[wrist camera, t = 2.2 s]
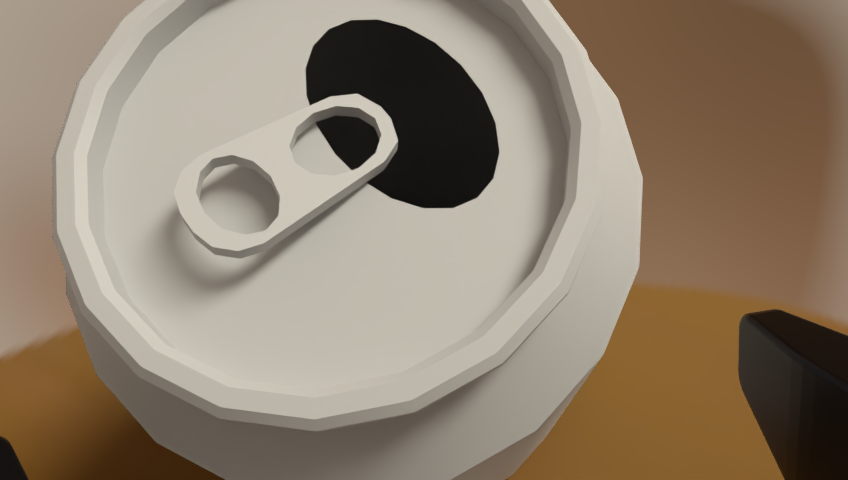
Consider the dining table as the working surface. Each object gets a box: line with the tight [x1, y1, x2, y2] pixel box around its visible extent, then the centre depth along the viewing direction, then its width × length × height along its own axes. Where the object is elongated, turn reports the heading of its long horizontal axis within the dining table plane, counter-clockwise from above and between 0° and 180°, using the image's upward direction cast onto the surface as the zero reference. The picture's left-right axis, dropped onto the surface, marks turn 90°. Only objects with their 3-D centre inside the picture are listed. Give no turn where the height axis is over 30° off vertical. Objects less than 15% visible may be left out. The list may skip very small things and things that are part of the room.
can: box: [52, 0, 643, 480], centre depth 14 cm, size 8×8×12 cm
